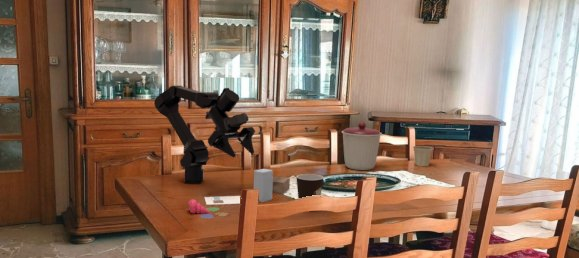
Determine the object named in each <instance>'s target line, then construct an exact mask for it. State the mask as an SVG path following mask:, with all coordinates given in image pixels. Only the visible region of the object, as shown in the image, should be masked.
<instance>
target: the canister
mask: <svg viewBox="0 0 579 258" xmlns="http://www.w3.org/2000/svg"><path fill="white" fill-rule="evenodd" d="M357 126H358V127H357ZM357 126H356V127H346V128H345V129H343V130H342V131H341V133H342V142H343V156H344V157H343V158H344V159H343V160H344V164H345V166H346V167H347V168H348V169H351V170H356V171H357V170H358V171H369V170H373V169H374V168H375V166H376V163H377V159H378V158H377V157H378V153H379V146H380V141H381V136H383V135H382V134H383V133H382V132H380V131H379V130H378V129H375V128H371V127H367V124H366V122H365V121H360V122H358V123H357Z"/></svg>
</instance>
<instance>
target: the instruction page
mask: <svg viewBox="0 0 579 258" xmlns="http://www.w3.org/2000/svg"><path fill="white" fill-rule="evenodd" d="M240 197H241V195H234V196H233V195H230V196H229V195H227V196H226V195H225V196H218V195H217V196H204V201H205V205H206V206H220V205H241V204H240Z"/></svg>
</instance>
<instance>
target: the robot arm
mask: <svg viewBox="0 0 579 258" xmlns="http://www.w3.org/2000/svg"><path fill="white" fill-rule="evenodd" d="M182 99H183V100H186V101H189V102H193V103H195V105H196V106H197V107H199V108H201V109H204V110H205V109H209V111H206V112H205V120H211V121H212V122H213V124H214V125H215V126H214V130H213V132H212V133H211V134H210V136H209V137H207V143H208V145H209V147H213V148H214V149H217V150H219V151H222V152H224V153H225V154H226V155H228V156H230V157H232V158H235V157H236V156H237V155H236V153H235V151H234V149H233V147H232V145H231V143H230V141H229V140H234V139H237V140H238V142H240V143H239V144H240V145H241V146H242V147H243V148H245V150H246V151H248V153H250V154H251V155H254V154H255V150H254V145H253V139H252V138H253V136H254V134H255V133H256V130H255V128H254V127H253V126H244V127H242V128H241V126H242V125H245V124H247V123H248V121H249V116H248V115H247V114H246V113H245V112H241V113H240V114H235V115H233V116H229V115H228V113H230V112H231V111H232V110H233V109H234V108H235V107H236V105H237V104H238V102H240V96H239V94H237V93H236V92H235V91H233V90H231V89H230V88H229V87H224V88H223V89H222V91H221V93H220V95H219V94H218V92H216V91H215V92H211V91H210V92H209V91H206V92H205V91H199V90H195V89H192V88H188V87H184V86H183V85H171V86H169V87H168V89H165V91H163V92H161V93H160V94H158V96H156V98H155V99H154V107H155V109H156V110H157V111H158V113H159V114H160V115H163V116H164V117H165V118H167V120H168V121H169V123H170V125H171V127H172V128H173V130H174V131H175V134H176V136H178V138H179V140H180V142H181V144H182V145H183V156H182V158H181V159H180V160H179V161H180V166H181V168H184V180H183V183H184V184H202V182H203V181H204V180H205V178H204V177H205V176H204V175H205V174H204V173H205V169H204V168H203V166H206V165H207V162H208V158H209V156H210V155H209V150H208V146H207V145H206V144H205V142H204V141H203V139H198V140H197V139H196V138H195V136H194V135H193V133H192V131H191V129H190V128H189V126H188V125H187V123H186V121H185V119H184V118H183V117H182V115H181V113H180V111H179V108H180V107H179V106H180V102H181V101H182ZM240 129H241V130H240ZM239 130H240V131H239Z"/></svg>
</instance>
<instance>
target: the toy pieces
mask: <svg viewBox="0 0 579 258" xmlns="http://www.w3.org/2000/svg"><path fill="white" fill-rule="evenodd" d="M187 205H188V206H189V211H190V213H191V214H193V215H194V214H200V216H199V218H203V219H213V218H214V217H215V216H214V215H213V214H212V212H216V211H217V212H216V213H215V215H217V216H219V217H225V216H227V215H229V212H223V211H222V212H218V211H220V207H214V206H212V207H208V208H206V207H205V206H204V205H202V204H201V203H200V202H198V201H197V200H196V199H193V198H192V199H190V200H188V202H187Z"/></svg>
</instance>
